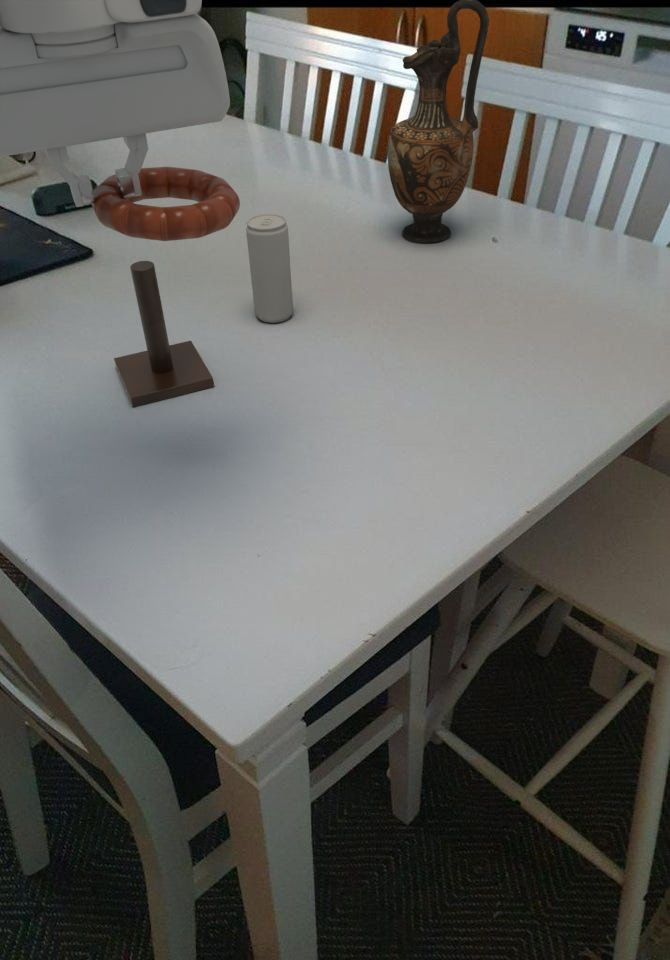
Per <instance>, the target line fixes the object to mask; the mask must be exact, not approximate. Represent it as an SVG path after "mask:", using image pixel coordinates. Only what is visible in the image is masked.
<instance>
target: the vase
mask: <svg viewBox="0 0 670 960" xmlns="http://www.w3.org/2000/svg"><path fill="white" fill-rule="evenodd" d="M463 9H466V10H471V11H473V12H475V13H476V14H477V16H478V18H479V30H478V33H477V38H476V43H475V47H474V50H473V56H472V59H471V63H470V69H469V74H468V80H467V85H466V90H465V91H466V92H465V99H464V109H463V116H462V120H461V119H459V118H456V117H453V116H452V115H451V114H450V113H449V110H448V103H447V86H448V80H449V77H450V75H451V72H452V70H453V68H454V66H456V65H457V64H458V63H459V61H460V55H461V42H460V36H459V23H458V17H457V15H458V13H459V12H460V10H463ZM446 20H447V21H446V23H447V24H446V25H447V29H448V30H447V32H446V33H445V34H444V35H442V36H441V38H440V40H439V39H432V40H430V41H429V42H428V43H425V44H422V45H421V46H419V47H417V48H416V51H415V53H413V54H412V55H407V56H404V57H403V58H402V63H403V64H402V67H403V69H404V70H410V69H411V70H412V71H413V72H414V74H415V76H416V78H417V80H418V84H419V85H418V87H419V92H418V102H417V107H416V110H415V113H414V115H413V116H412V117H410V118H409V117H408V118H405V119H403V120H401V121H399V122H397V123H395V124H394V125H393V126H392V127H391V128H390V130H389V131H388V135H387V143H386V144H387V146H386V147H387V148H386V151H387V152H386V154H387V155H386V157H387V166H388V175H389V179H390V182H391V183H390V184H391V187H392V190H393V193H394V196H395V198H396V200H397V202H398V204H399V205H400V206H401V208H402V209H404V210H405V211H407V213H409V214H411V215H412V220H413V222H412V223H410V224H407V225H406V226H404V227H403V228H402V232H401V236H402V238H404V239H405V240H406V241H408V242H411V243H417V244H433V243H440V242H443V241H445V240H447V239H449V238H450V237H451V236H452V230H451V229H450V227H449V226H447V225H446V224H444V223H442V221H443V215H444V213H446V212H447V211H449V210H450V209H452V208H453V207H454V206H455V205H456V204H457V203H458V202H459V200H460V198H461V196H462V194H463V193H464V191H465V188H466V186H467V183H468V180H469V176H470V173H471V168H472V165H473V164H472V163H473V157H474V144H475V143H474V132H475V131H476V130H477V129H479V121H478V117H477V115H476V113H475V97H476V91H477V83H478V78H479V73H480V68H481V63H482V59H483V53H484V49H485V44H486V40H487V37H488V31H489V29H488V28H489V25H490V19H489V14H488V10H487V8H486V7H485V5H483V4H482V3H481V1H479V0H458V1H455V2H454V3H453V4H452V6H450V8H449V10H448V13H447V17H446Z"/></svg>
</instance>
